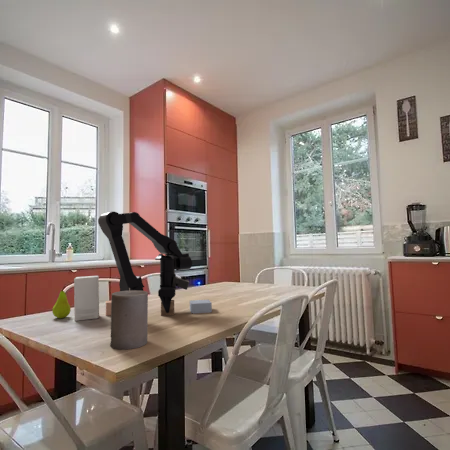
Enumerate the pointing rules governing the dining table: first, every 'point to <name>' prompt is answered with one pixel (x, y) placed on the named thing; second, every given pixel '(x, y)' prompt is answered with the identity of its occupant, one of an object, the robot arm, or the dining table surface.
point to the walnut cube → (171, 311)
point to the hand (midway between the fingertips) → (167, 311)
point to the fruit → (61, 306)
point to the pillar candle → (129, 319)
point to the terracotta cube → (108, 308)
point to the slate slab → (200, 306)
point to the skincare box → (86, 297)
